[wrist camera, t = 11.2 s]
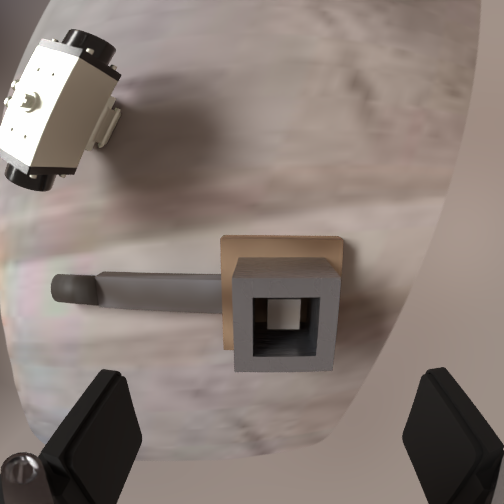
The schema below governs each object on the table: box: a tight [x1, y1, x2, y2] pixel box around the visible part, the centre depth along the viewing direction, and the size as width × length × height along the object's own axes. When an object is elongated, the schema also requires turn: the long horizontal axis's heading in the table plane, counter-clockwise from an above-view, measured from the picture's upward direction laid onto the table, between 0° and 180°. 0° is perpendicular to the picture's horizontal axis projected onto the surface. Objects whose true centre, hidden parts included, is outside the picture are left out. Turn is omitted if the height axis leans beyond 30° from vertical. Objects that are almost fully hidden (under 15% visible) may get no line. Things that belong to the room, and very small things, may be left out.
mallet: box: [51, 235, 343, 350], centre depth 27 cm, size 10×27×6 cm, turn 90°
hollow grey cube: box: [232, 257, 341, 372], centre depth 24 cm, size 7×7×6 cm
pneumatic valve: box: [0, 29, 121, 191], centre depth 21 cm, size 6×12×12 cm, turn 152°
